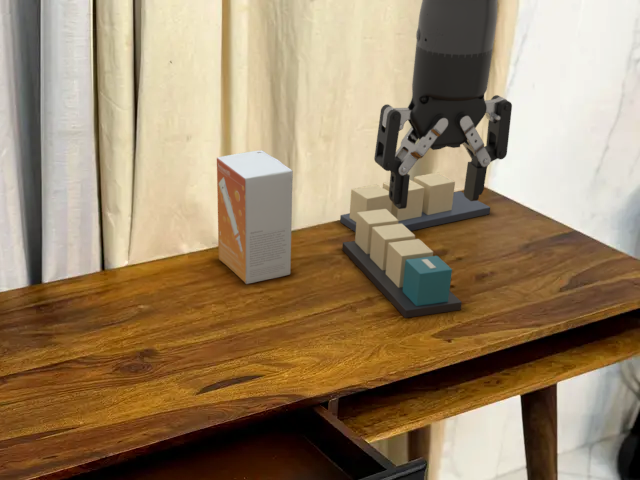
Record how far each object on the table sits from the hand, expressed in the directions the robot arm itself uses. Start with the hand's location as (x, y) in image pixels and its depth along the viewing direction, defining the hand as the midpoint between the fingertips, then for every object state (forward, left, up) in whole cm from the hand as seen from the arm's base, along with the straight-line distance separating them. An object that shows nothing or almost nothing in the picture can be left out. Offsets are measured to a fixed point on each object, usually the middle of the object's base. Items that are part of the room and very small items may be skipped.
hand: (435, 202), depth 107 cm
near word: (0, -7, -12) cm, 14 cm away
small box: (+16, -15, -12) cm, 25 cm away
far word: (-10, -24, -12) cm, 29 cm away
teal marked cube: (0, 0, -11) cm, 11 cm away
